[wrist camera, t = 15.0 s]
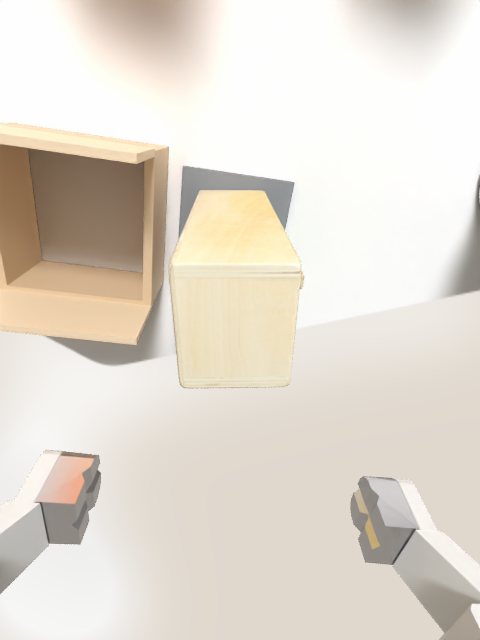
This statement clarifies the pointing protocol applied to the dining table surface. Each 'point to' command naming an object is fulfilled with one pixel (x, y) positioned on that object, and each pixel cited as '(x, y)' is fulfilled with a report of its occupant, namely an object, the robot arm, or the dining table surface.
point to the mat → (219, 180)
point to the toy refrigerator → (234, 293)
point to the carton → (69, 279)
